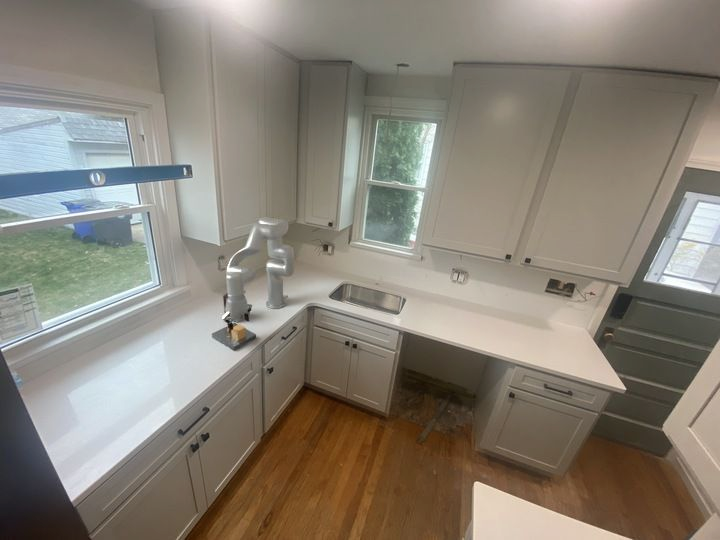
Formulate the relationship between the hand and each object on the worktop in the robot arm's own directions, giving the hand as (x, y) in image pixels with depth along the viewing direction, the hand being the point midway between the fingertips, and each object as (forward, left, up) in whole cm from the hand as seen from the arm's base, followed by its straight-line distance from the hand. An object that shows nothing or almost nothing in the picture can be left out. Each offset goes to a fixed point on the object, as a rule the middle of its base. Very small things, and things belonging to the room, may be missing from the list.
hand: (238, 324), depth 153 cm
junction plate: (+1, -4, -10) cm, 10 cm away
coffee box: (-11, -20, -10) cm, 25 cm away
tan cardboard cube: (+1, 0, -7) cm, 7 cm away
